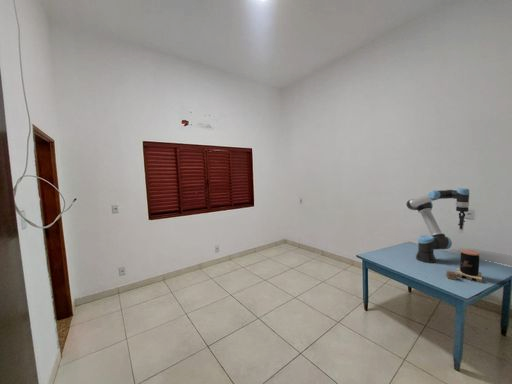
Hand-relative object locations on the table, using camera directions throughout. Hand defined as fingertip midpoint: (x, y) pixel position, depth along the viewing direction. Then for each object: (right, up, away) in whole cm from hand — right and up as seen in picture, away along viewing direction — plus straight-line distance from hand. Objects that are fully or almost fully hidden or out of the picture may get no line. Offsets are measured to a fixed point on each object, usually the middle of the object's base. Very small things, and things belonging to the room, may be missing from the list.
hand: (461, 230), depth 180 cm
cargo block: (-18, -37, -10) cm, 42 cm away
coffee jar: (-3, -33, -10) cm, 35 cm away
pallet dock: (-3, -36, -9) cm, 37 cm away
